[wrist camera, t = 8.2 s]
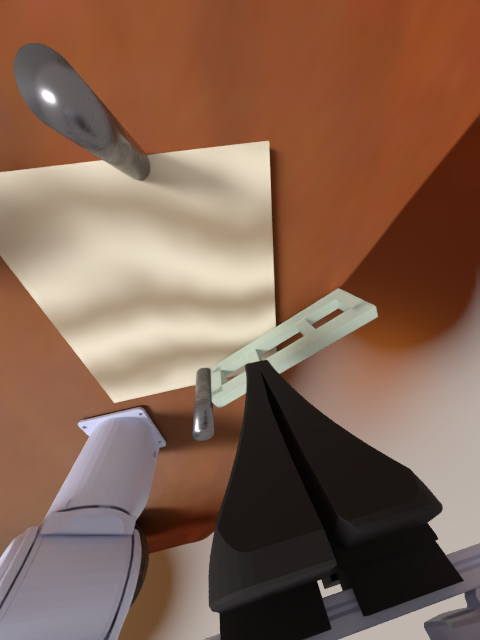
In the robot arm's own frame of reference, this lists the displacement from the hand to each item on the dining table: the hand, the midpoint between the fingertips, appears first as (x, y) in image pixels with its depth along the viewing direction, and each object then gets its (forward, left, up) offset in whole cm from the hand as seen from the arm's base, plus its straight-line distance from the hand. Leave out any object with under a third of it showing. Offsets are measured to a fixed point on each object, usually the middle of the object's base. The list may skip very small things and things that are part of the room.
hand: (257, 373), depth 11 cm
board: (+2, +6, -9) cm, 11 cm away
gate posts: (+3, +5, -8) cm, 10 cm away
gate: (-3, -4, -8) cm, 9 cm away
